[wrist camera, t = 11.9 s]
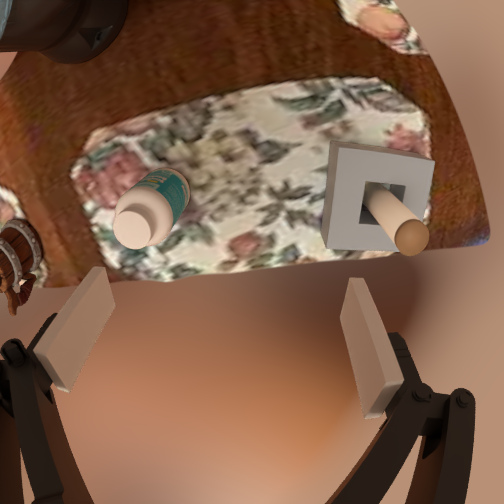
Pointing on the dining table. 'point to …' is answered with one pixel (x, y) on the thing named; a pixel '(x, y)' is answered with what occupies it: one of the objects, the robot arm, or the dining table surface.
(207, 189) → the dining table surface
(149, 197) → the pill bottle
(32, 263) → the mug
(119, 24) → the robot arm
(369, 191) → the peg
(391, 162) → the socket
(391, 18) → the dining table surface
